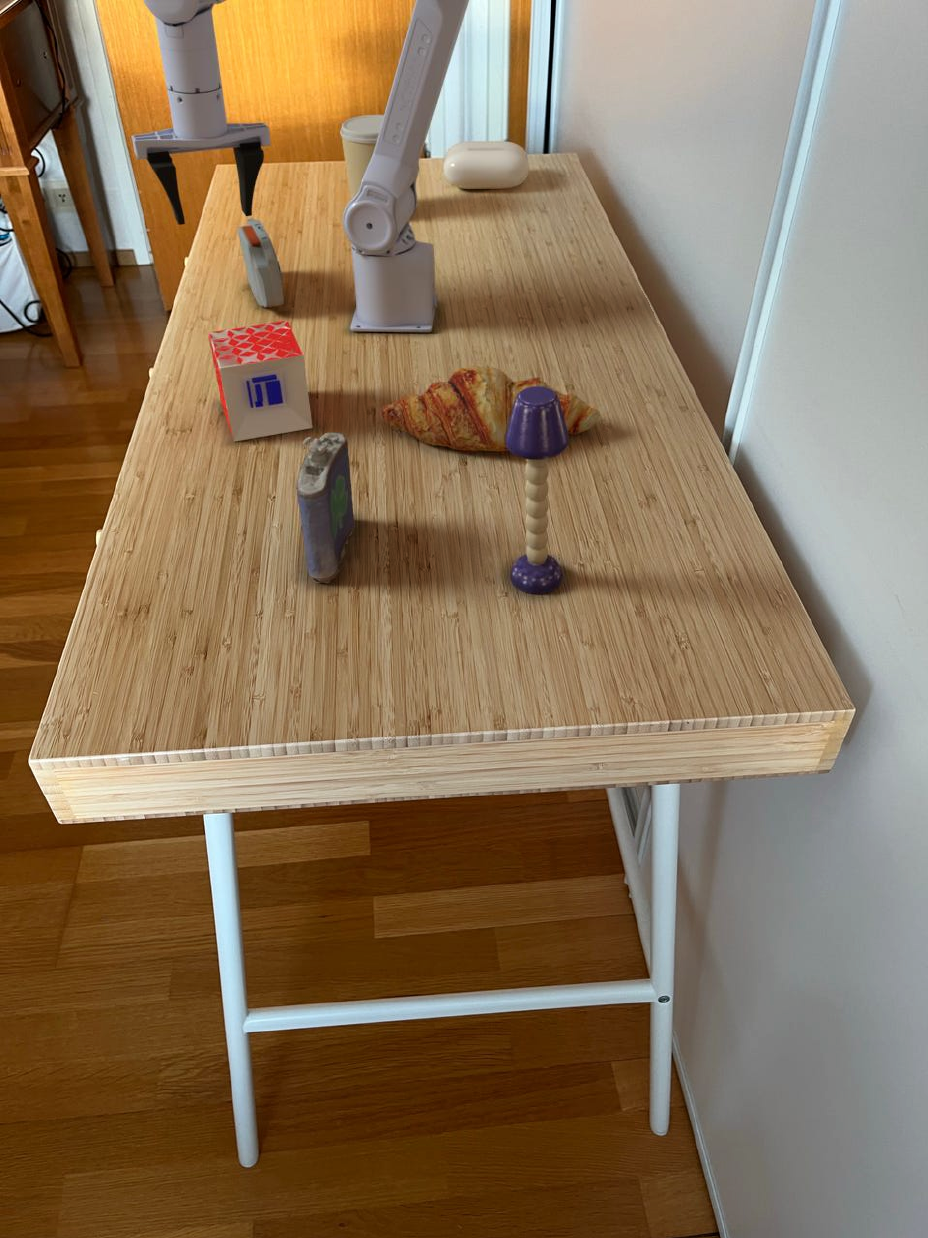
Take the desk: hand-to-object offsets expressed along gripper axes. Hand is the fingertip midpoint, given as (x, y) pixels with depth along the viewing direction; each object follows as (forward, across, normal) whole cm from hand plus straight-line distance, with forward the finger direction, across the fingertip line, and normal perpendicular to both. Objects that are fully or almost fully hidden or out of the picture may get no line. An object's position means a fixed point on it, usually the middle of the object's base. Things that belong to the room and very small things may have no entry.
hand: (214, 217), depth 113 cm
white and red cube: (+10, +2, +28) cm, 30 cm away
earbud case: (+10, -47, -28) cm, 55 cm away
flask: (+10, +3, +52) cm, 53 cm away
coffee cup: (+11, -28, -22) cm, 37 cm away
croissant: (+10, -17, +40) cm, 45 cm away
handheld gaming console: (+11, -5, -1) cm, 12 cm away
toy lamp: (+10, -11, +62) cm, 64 cm away
